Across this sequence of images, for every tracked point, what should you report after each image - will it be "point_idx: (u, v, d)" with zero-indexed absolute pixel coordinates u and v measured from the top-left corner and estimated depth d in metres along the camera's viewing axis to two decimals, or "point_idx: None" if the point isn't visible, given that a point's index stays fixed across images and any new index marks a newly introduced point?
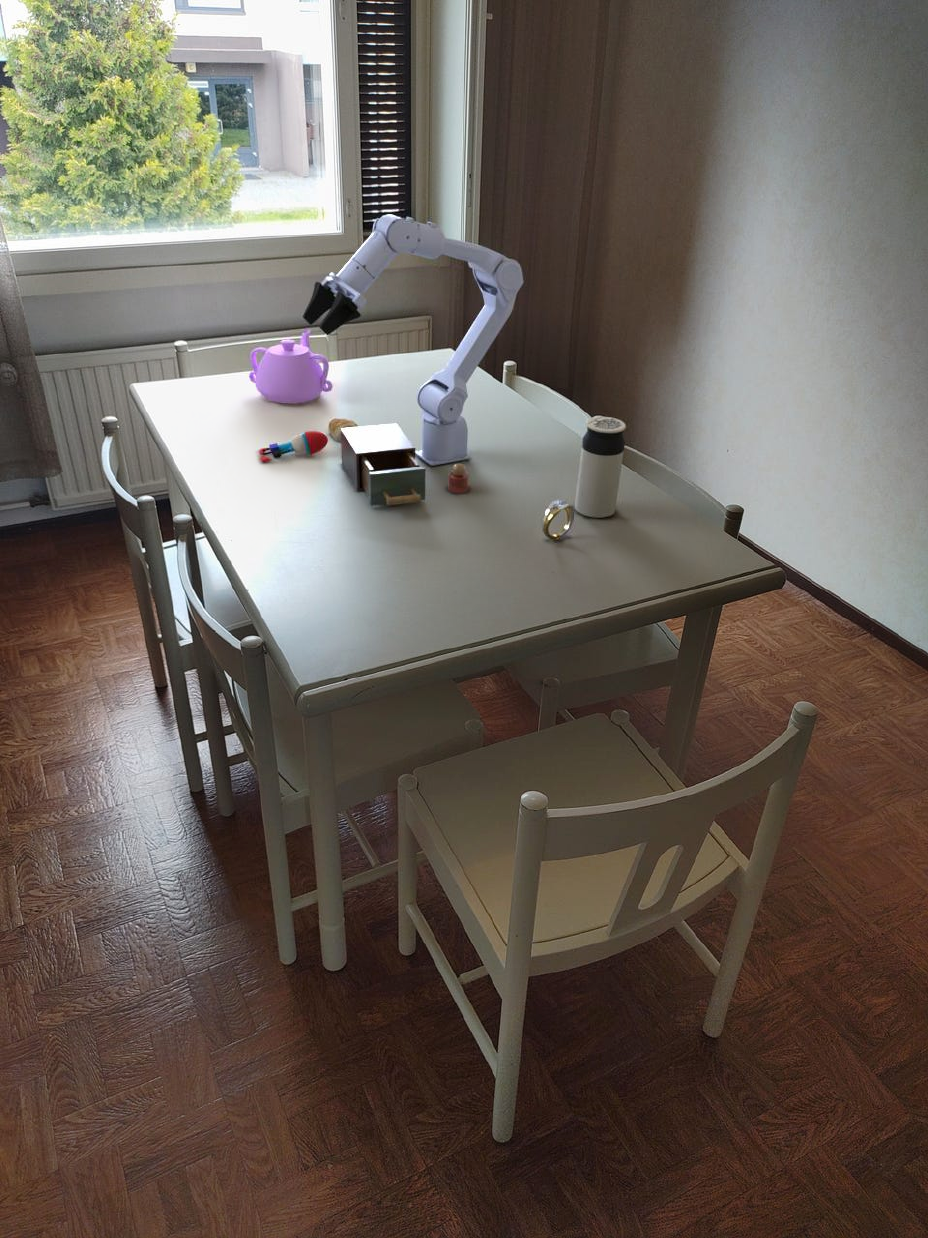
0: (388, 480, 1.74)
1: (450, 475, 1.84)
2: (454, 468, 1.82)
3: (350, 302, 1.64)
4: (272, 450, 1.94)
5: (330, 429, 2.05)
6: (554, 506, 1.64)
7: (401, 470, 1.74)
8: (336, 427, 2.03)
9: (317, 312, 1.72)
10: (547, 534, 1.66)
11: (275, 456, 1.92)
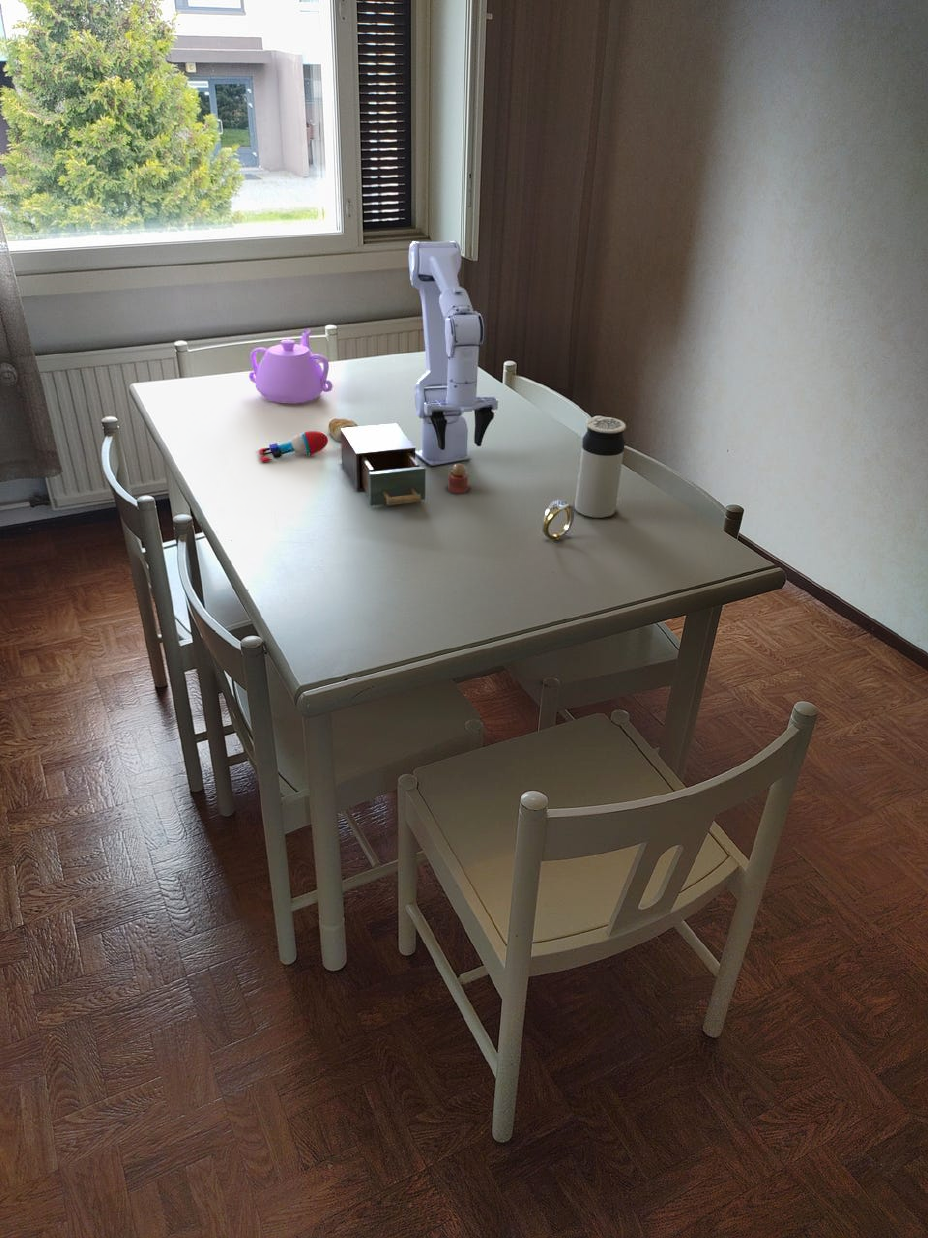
0: (388, 480, 1.74)
1: (450, 475, 1.84)
2: (454, 468, 1.82)
3: None
4: (272, 450, 1.94)
5: (330, 429, 2.05)
6: (554, 506, 1.64)
7: (401, 470, 1.74)
8: (336, 427, 2.03)
9: None
10: (547, 534, 1.66)
11: (275, 456, 1.92)
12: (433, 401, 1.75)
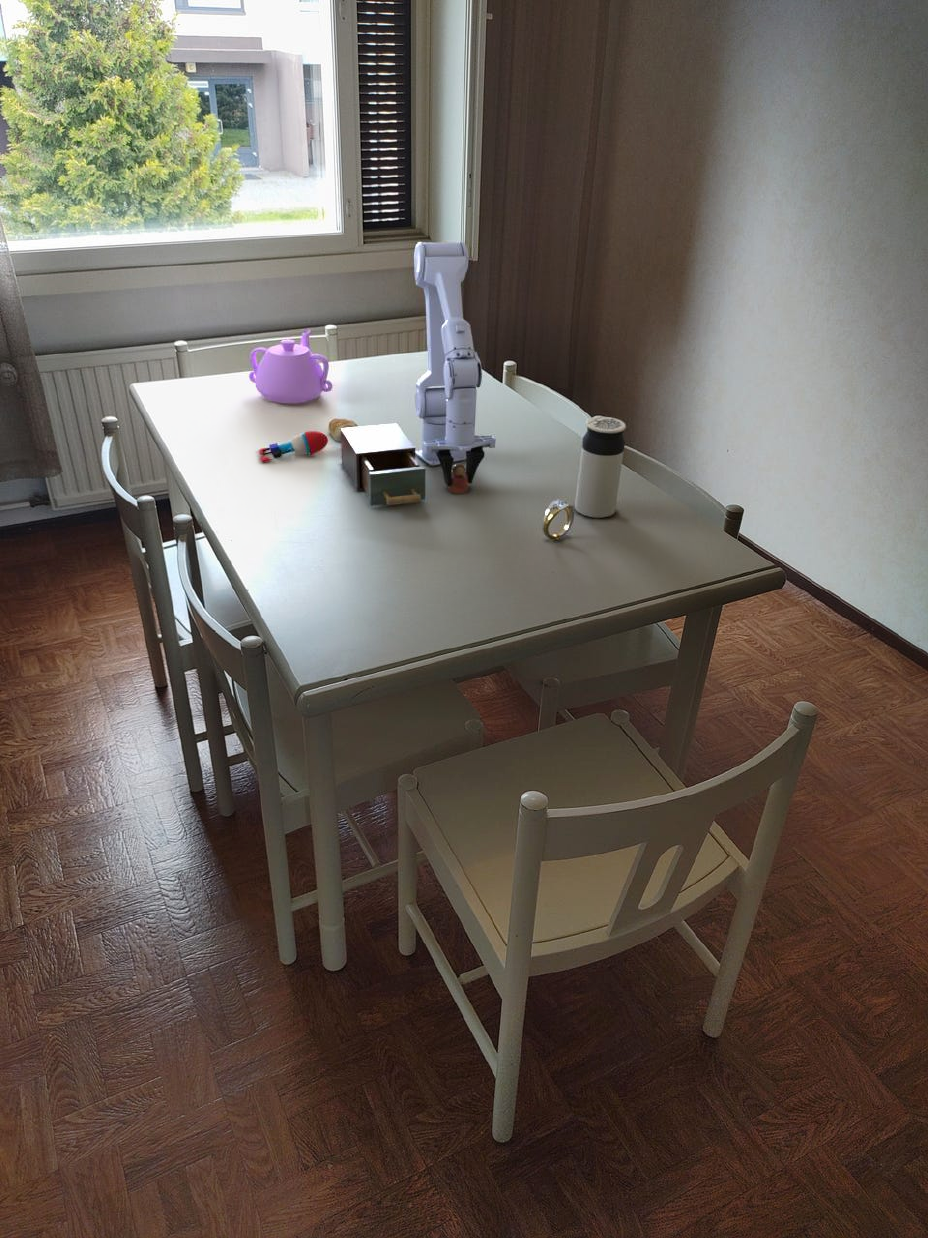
0: (388, 480, 1.74)
1: None
2: (454, 468, 1.82)
3: (482, 450, 1.82)
4: (272, 450, 1.94)
5: (330, 429, 2.05)
6: (554, 506, 1.64)
7: (401, 470, 1.74)
8: (336, 427, 2.03)
9: None
10: (547, 534, 1.66)
11: (275, 456, 1.92)
12: (432, 440, 1.79)
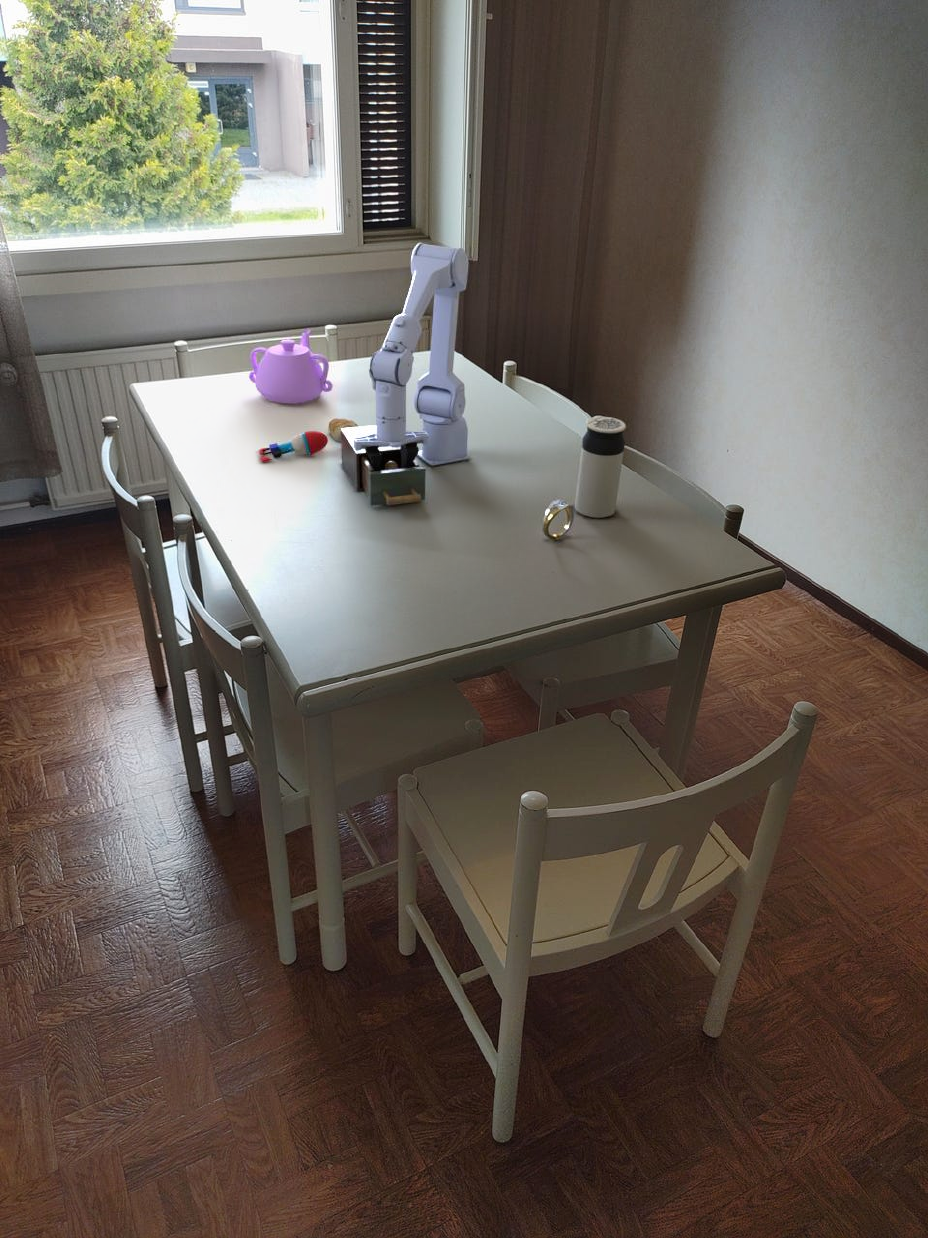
0: (388, 480, 1.74)
1: None
2: (386, 465, 1.78)
3: None
4: (272, 450, 1.94)
5: (330, 429, 2.05)
6: (554, 506, 1.64)
7: (401, 470, 1.74)
8: (336, 427, 2.03)
9: None
10: (547, 534, 1.66)
11: (275, 456, 1.92)
12: None
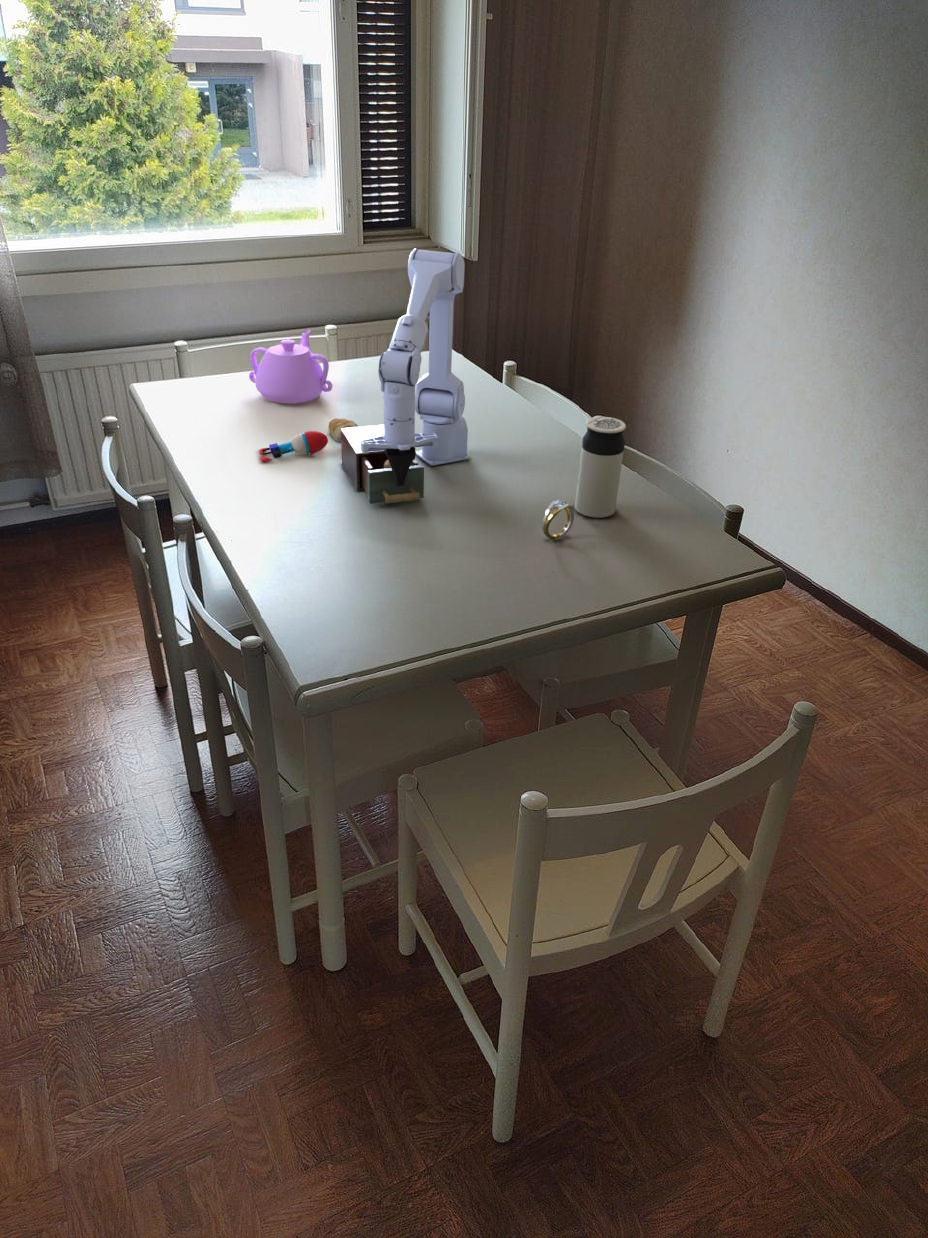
0: (387, 478, 1.75)
1: None
2: (385, 464, 1.78)
3: None
4: (272, 450, 1.94)
5: (330, 429, 2.05)
6: (554, 506, 1.64)
7: None
8: (336, 427, 2.03)
9: None
10: (547, 534, 1.66)
11: (275, 456, 1.92)
12: None
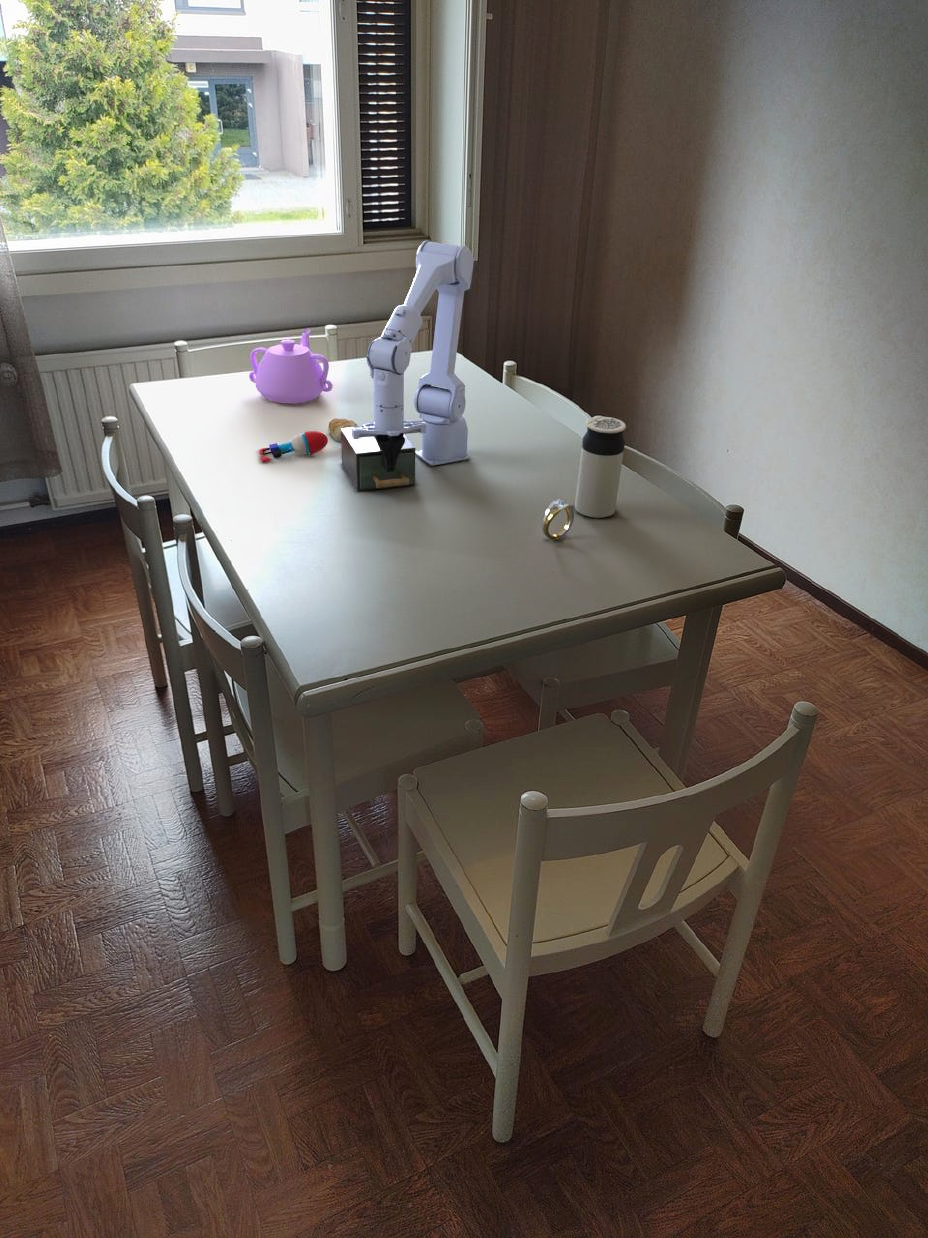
0: (377, 464, 1.80)
1: None
2: None
3: (403, 436, 1.77)
4: (272, 450, 1.94)
5: (330, 429, 2.05)
6: (554, 506, 1.64)
7: None
8: (336, 427, 2.03)
9: None
10: (547, 534, 1.66)
11: (275, 456, 1.92)
12: None
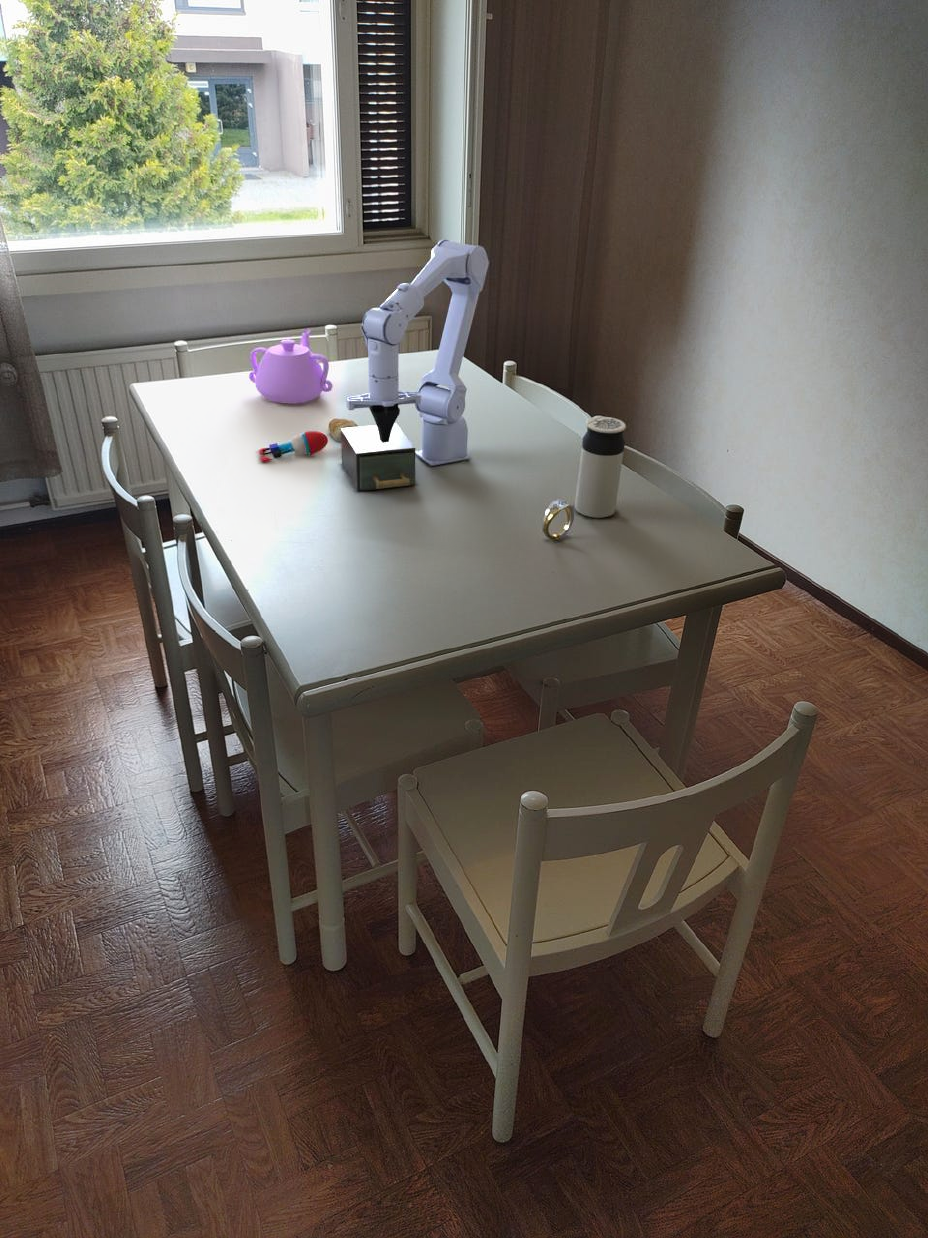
0: (378, 465, 1.80)
1: None
2: None
3: None
4: (272, 450, 1.94)
5: (330, 429, 2.05)
6: (554, 506, 1.64)
7: (390, 455, 1.80)
8: (336, 427, 2.03)
9: None
10: (547, 534, 1.66)
11: (275, 456, 1.92)
12: (355, 396, 1.76)
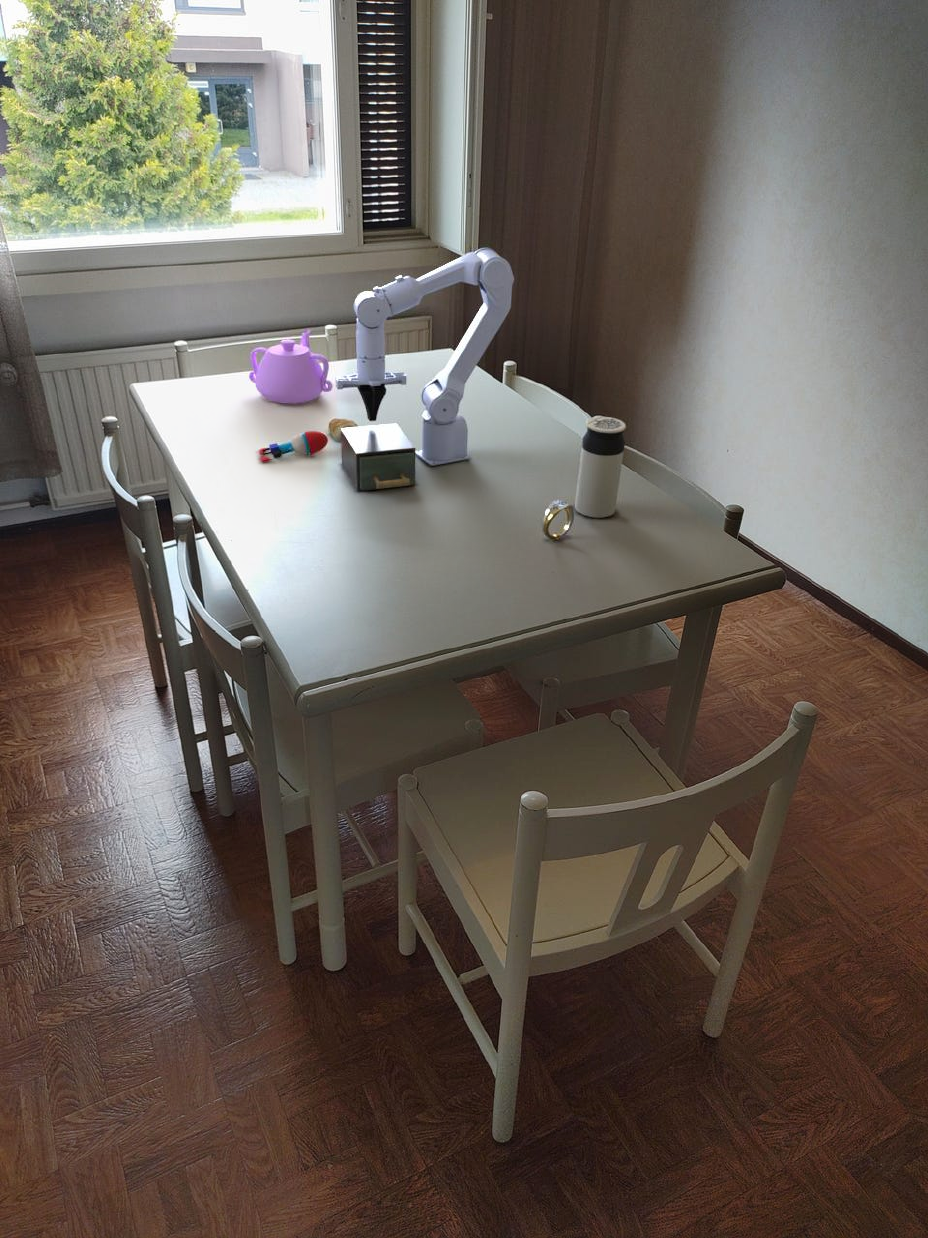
0: (378, 465, 1.80)
1: None
2: None
3: None
4: (272, 450, 1.94)
5: (330, 429, 2.05)
6: (554, 506, 1.64)
7: (390, 455, 1.80)
8: (336, 427, 2.03)
9: None
10: (547, 534, 1.66)
11: (275, 456, 1.92)
12: (344, 376, 1.85)
